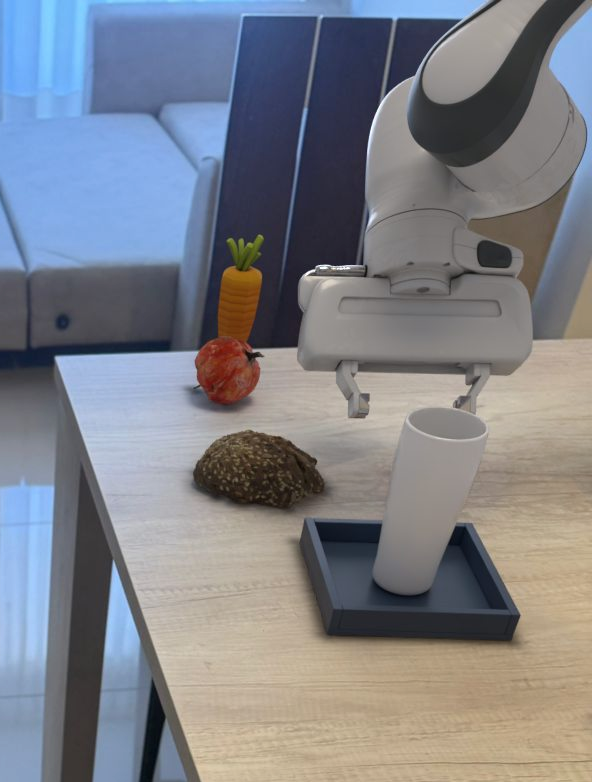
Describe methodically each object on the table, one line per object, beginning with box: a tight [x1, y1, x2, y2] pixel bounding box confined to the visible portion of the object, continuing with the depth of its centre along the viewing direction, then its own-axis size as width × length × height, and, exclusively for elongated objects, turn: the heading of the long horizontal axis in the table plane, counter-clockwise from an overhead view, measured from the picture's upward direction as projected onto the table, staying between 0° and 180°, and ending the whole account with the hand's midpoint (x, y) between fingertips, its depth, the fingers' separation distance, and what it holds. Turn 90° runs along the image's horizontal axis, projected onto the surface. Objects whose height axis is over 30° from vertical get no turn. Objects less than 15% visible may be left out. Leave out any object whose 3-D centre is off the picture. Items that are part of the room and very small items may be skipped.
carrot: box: [217, 234, 265, 343], centre depth 136 cm, size 5×5×15 cm
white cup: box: [372, 405, 490, 596], centre depth 99 cm, size 7×7×15 cm
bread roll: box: [192, 429, 326, 509], centre depth 117 cm, size 13×12×5 cm
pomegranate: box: [193, 336, 265, 406], centre depth 132 cm, size 7×7×10 cm
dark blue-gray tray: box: [299, 517, 521, 642], centre depth 103 cm, size 16×16×3 cm
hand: (411, 417), depth 104 cm, fingers open, 8 cm apart
